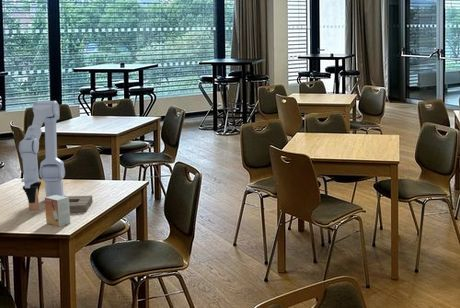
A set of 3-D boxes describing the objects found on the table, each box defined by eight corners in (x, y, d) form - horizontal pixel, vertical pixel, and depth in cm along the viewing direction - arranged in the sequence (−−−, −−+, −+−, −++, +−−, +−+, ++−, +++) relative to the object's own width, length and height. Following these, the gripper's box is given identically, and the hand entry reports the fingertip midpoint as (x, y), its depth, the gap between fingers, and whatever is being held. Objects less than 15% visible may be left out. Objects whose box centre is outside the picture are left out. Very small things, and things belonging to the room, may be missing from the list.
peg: (30, 208, 266) (28, 187, 264) (40, 208, 266) (38, 186, 264) (27, 211, 262) (26, 189, 260) (37, 210, 262) (36, 189, 260)
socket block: (60, 203, 280) (59, 196, 280) (92, 202, 281) (92, 195, 280) (51, 213, 264) (51, 206, 264) (86, 212, 265) (85, 205, 264)
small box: (46, 223, 250) (44, 197, 248) (58, 220, 255) (56, 194, 253) (59, 227, 245) (57, 200, 243) (71, 223, 250) (69, 197, 248)
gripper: (25, 165, 268) (28, 197, 270) (15, 172, 253) (18, 206, 256) (42, 164, 268) (45, 196, 270) (33, 172, 254) (36, 205, 256)
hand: (33, 201), depth 263 cm, fingers closed on peg, 4 cm apart
